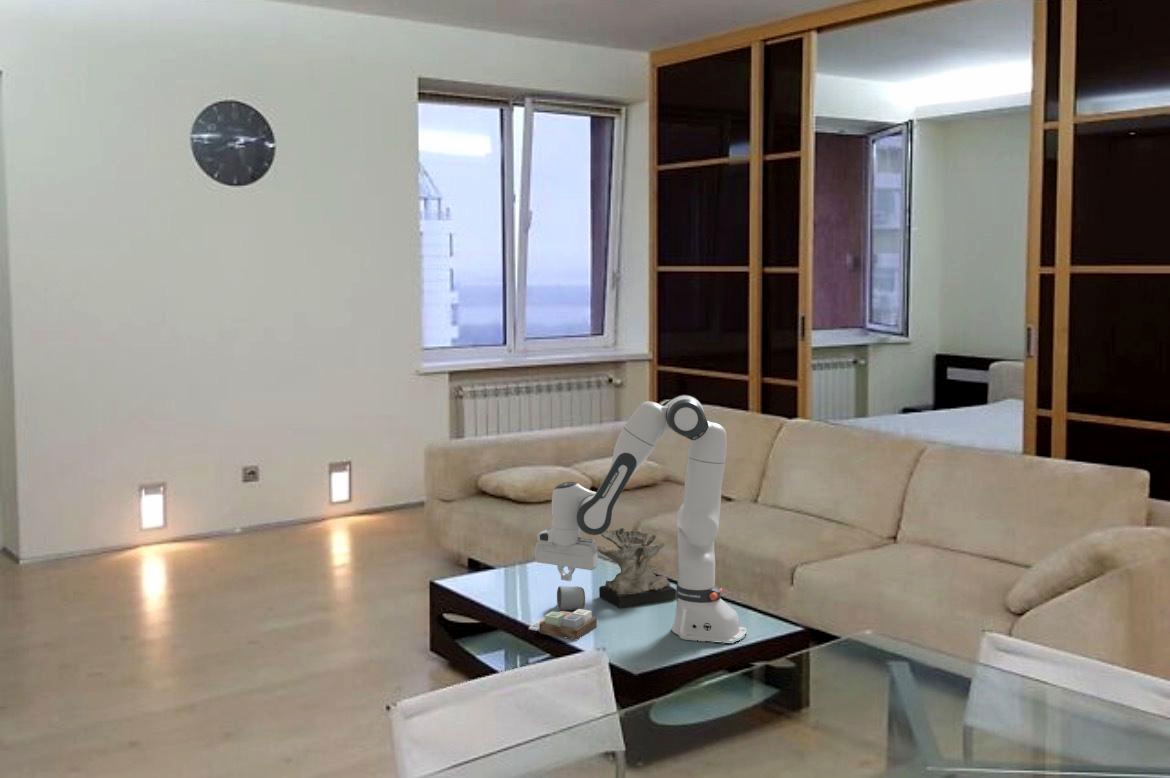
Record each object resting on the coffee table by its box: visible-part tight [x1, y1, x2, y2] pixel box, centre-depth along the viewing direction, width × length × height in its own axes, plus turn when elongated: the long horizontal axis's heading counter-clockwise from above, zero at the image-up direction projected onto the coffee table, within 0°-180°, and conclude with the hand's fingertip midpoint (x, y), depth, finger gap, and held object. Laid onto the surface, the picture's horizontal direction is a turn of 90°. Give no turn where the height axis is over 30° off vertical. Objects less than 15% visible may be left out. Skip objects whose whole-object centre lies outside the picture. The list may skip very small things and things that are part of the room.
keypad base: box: [538, 611, 598, 640], centre depth 350 cm, size 13×13×3 cm
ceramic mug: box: [556, 585, 586, 612], centre depth 371 cm, size 11×8×8 cm
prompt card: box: [528, 617, 545, 632], centre depth 354 cm, size 3×10×1 cm, turn 153°
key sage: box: [544, 610, 565, 626], centre depth 348 cm, size 4×4×4 cm
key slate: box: [563, 614, 582, 629], centre depth 346 cm, size 4×4×4 cm
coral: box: [597, 527, 676, 609], centre depth 382 cm, size 25×20×22 cm
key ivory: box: [571, 608, 593, 623], centre depth 351 cm, size 4×4×4 cm
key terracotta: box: [558, 610, 573, 617], centre depth 354 cm, size 4×4×4 cm
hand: (566, 580), depth 351 cm, fingers closed
